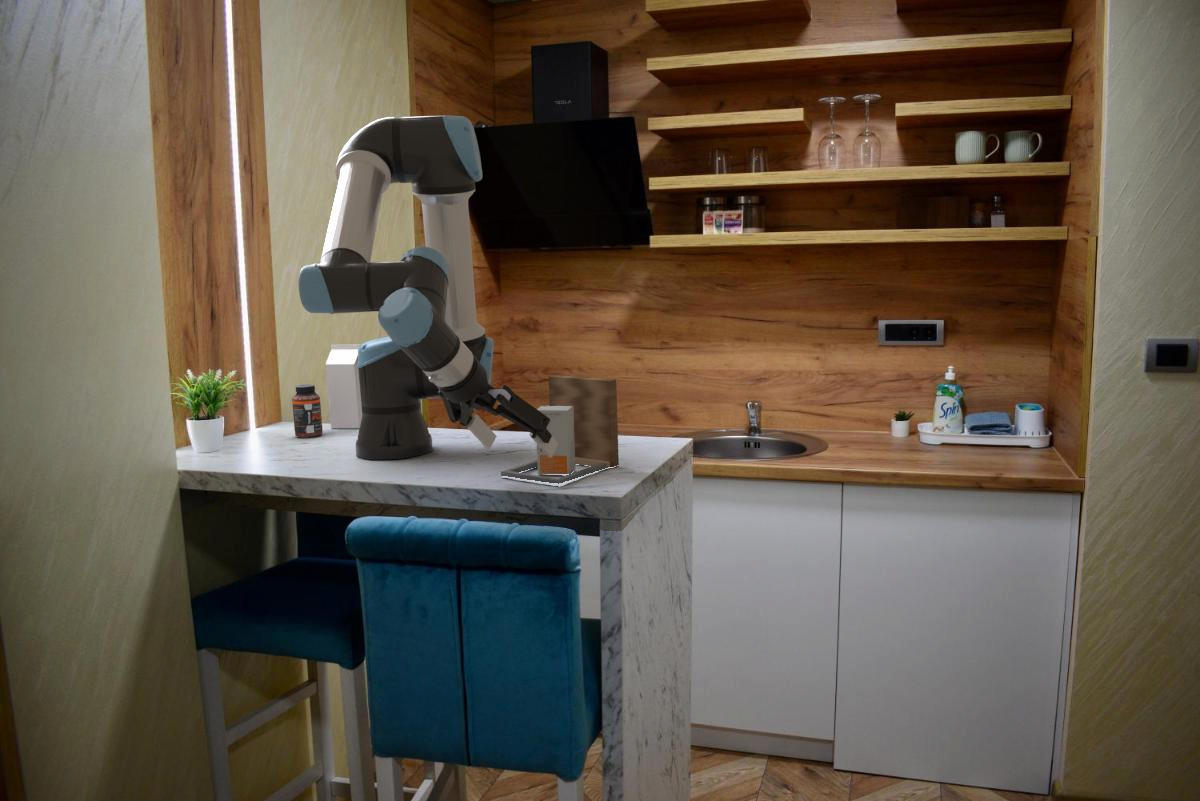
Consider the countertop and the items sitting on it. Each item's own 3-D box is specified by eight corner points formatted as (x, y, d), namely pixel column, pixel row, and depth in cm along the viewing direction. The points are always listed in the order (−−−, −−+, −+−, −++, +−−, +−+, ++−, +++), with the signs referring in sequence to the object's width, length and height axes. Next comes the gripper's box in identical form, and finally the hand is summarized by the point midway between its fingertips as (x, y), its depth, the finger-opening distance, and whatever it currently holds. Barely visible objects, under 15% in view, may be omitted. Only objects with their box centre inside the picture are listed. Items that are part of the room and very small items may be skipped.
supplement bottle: (318, 438, 204) (313, 387, 202) (291, 438, 204) (286, 387, 202) (326, 432, 210) (322, 382, 208) (300, 433, 210) (295, 383, 208)
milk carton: (359, 429, 213) (352, 346, 209) (330, 428, 214) (323, 346, 211) (373, 422, 220) (366, 342, 216) (345, 422, 221) (338, 342, 218)
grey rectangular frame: (501, 478, 165) (500, 471, 164) (554, 460, 176) (553, 454, 176) (559, 487, 157) (558, 480, 157) (610, 468, 169) (610, 461, 169)
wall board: (551, 459, 177) (548, 376, 174) (558, 457, 178) (555, 375, 176) (612, 468, 169) (609, 381, 166) (618, 466, 170) (616, 379, 167)
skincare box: (537, 476, 165) (534, 409, 163) (544, 470, 169) (541, 405, 167) (570, 477, 164) (567, 410, 162) (576, 470, 168) (573, 405, 166)
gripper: (387, 384, 149) (458, 456, 164) (505, 395, 135) (571, 473, 149) (409, 347, 152) (477, 421, 167) (527, 354, 138) (589, 434, 153)
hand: (521, 446), depth 158 cm, fingers open, 13 cm apart
